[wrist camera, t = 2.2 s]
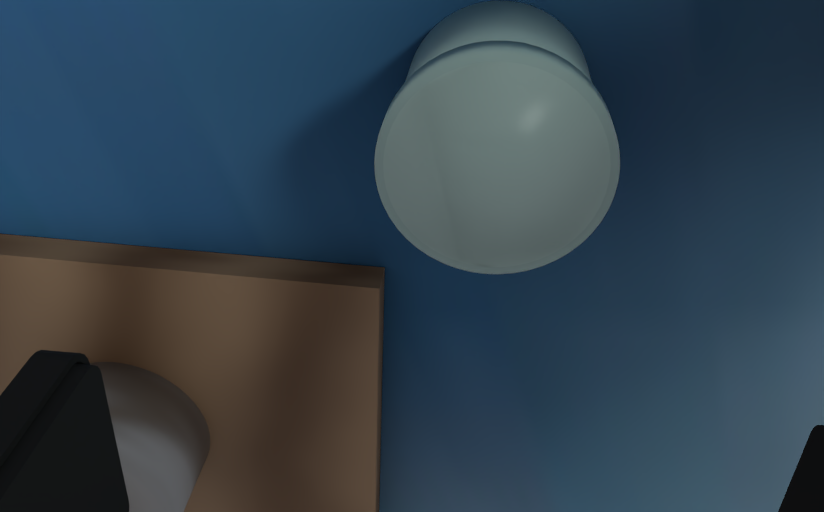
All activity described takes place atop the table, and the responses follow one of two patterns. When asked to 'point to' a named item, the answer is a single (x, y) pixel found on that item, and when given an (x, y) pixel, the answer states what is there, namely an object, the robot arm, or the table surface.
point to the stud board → (213, 368)
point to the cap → (497, 143)
